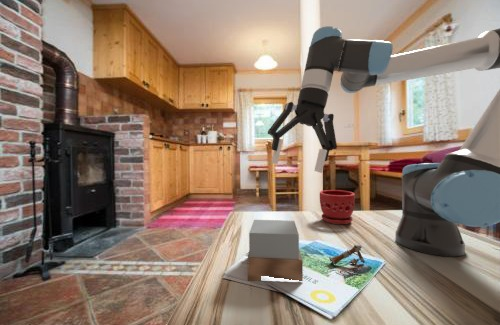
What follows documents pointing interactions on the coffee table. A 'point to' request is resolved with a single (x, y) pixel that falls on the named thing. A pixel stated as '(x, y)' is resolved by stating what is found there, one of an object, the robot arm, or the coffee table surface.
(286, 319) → the coffee table surface
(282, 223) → the tower top
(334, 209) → the plant pot
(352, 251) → the wooden post with brackets
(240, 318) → the coffee table surface
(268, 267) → the tower bottom
